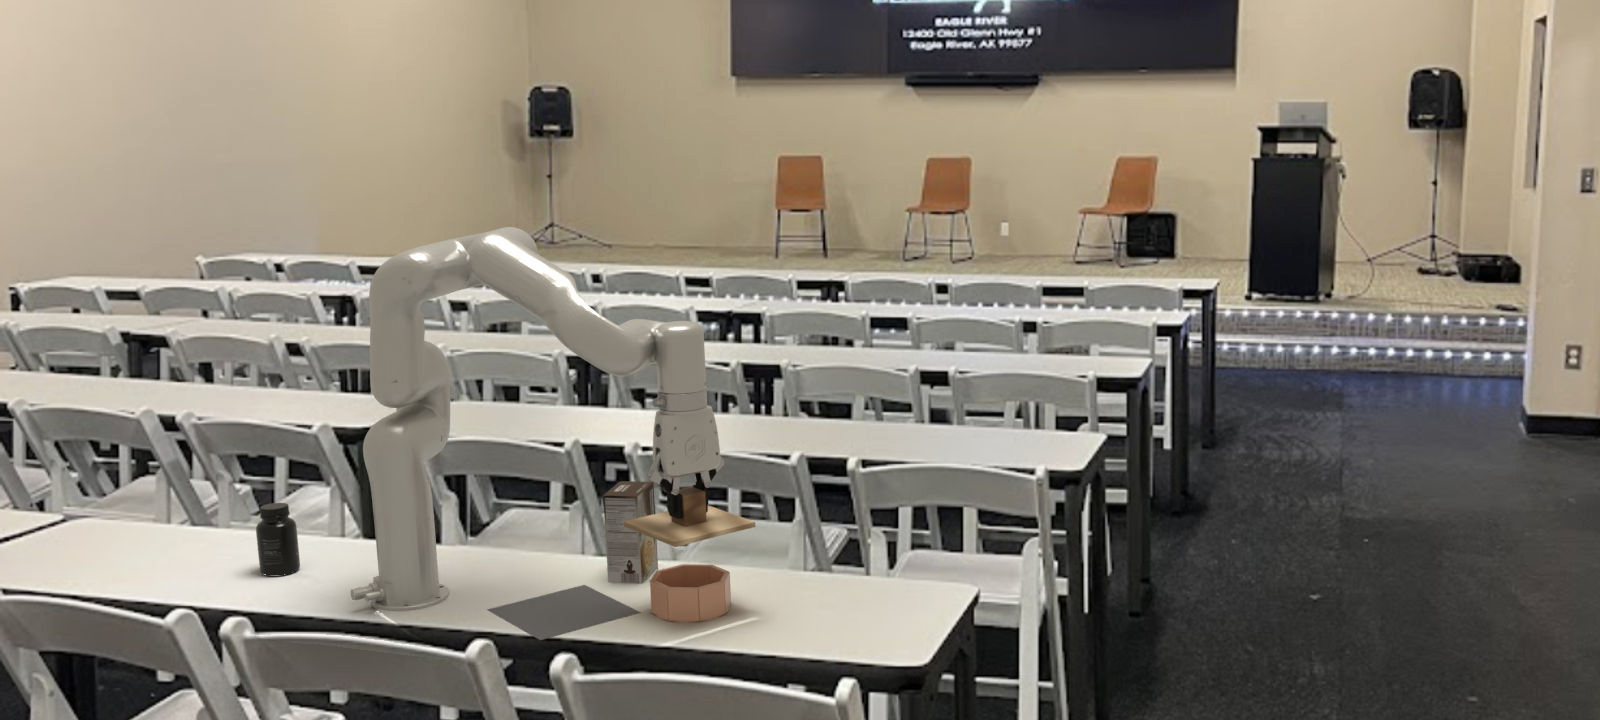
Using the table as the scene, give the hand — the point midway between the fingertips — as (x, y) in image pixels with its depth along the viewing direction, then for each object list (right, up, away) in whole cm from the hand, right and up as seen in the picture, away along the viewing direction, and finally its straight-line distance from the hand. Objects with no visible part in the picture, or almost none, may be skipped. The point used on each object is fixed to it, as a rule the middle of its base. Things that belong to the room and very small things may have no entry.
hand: (688, 512), depth 242 cm
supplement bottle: (-75, -14, +30) cm, 82 cm away
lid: (0, -2, 0) cm, 2 cm away
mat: (-20, -17, +4) cm, 27 cm away
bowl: (0, -16, +3) cm, 16 cm away
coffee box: (-11, -13, +21) cm, 27 cm away
